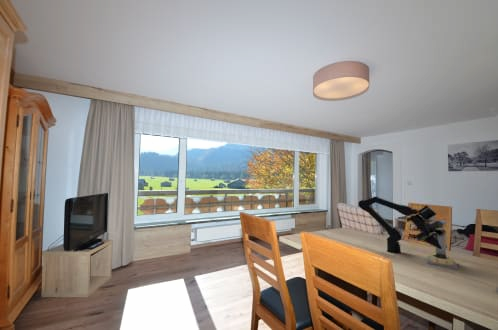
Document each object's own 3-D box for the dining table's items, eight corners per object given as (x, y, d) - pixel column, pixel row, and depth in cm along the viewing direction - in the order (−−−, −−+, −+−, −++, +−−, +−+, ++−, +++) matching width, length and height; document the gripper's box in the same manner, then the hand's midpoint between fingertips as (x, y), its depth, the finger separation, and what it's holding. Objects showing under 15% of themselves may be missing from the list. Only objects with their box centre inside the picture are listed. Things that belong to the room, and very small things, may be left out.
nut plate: (427, 263, 119) (427, 257, 120) (427, 257, 128) (427, 251, 129) (457, 269, 112) (457, 262, 112) (455, 263, 121) (455, 256, 121)
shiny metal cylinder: (435, 259, 120) (435, 235, 121) (435, 257, 123) (435, 234, 124) (446, 261, 117) (445, 237, 118) (446, 259, 120) (445, 235, 121)
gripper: (421, 216, 122) (445, 242, 111) (441, 215, 129) (466, 239, 118) (407, 228, 129) (428, 252, 118) (426, 226, 136) (448, 249, 125)
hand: (443, 248), depth 119 cm, fingers closed on shiny metal cylinder, 4 cm apart
